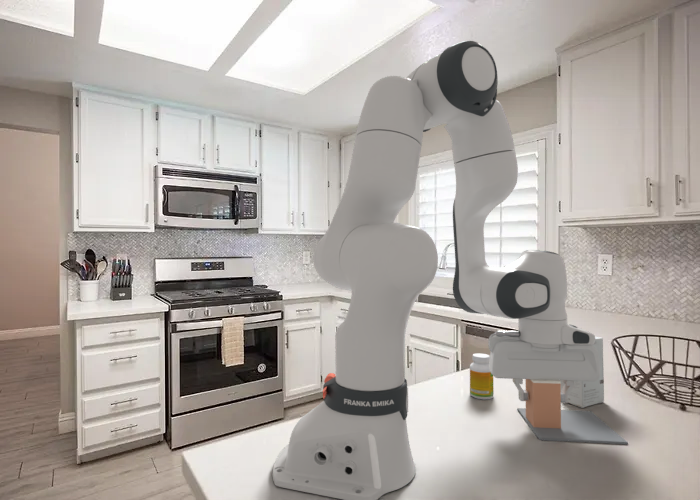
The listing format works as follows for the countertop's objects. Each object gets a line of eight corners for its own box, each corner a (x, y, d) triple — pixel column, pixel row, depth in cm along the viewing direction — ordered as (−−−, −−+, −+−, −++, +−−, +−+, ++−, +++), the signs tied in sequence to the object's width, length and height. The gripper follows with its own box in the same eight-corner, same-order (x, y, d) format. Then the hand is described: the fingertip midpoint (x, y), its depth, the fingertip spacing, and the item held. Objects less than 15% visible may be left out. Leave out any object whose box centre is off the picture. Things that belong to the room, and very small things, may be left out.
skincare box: (582, 409, 88) (582, 340, 88) (557, 400, 94) (556, 335, 94) (605, 402, 92) (605, 336, 92) (579, 393, 97) (579, 332, 97)
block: (533, 427, 78) (533, 380, 78) (525, 416, 83) (525, 373, 83) (560, 428, 78) (560, 381, 78) (551, 417, 83) (550, 373, 83)
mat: (539, 440, 74) (539, 437, 74) (517, 410, 88) (517, 408, 88) (627, 444, 72) (627, 442, 72) (590, 412, 86) (590, 411, 86)
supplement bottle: (495, 400, 93) (494, 358, 93) (470, 399, 94) (470, 357, 94) (491, 392, 99) (491, 352, 99) (468, 391, 100) (468, 352, 100)
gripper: (491, 333, 79) (492, 404, 79) (604, 335, 76) (604, 409, 76) (485, 327, 85) (485, 393, 85) (588, 329, 82) (589, 397, 82)
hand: (542, 400), depth 80 cm, fingers open, 6 cm apart
